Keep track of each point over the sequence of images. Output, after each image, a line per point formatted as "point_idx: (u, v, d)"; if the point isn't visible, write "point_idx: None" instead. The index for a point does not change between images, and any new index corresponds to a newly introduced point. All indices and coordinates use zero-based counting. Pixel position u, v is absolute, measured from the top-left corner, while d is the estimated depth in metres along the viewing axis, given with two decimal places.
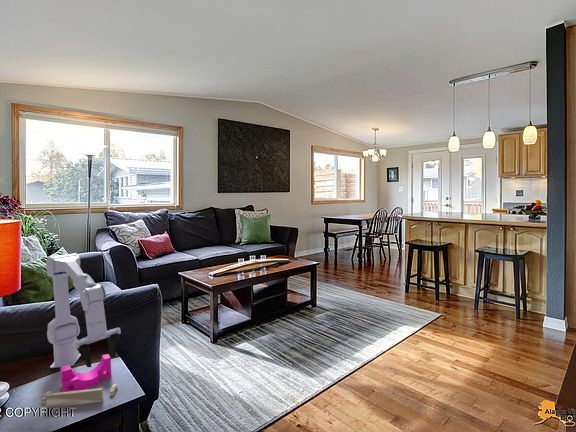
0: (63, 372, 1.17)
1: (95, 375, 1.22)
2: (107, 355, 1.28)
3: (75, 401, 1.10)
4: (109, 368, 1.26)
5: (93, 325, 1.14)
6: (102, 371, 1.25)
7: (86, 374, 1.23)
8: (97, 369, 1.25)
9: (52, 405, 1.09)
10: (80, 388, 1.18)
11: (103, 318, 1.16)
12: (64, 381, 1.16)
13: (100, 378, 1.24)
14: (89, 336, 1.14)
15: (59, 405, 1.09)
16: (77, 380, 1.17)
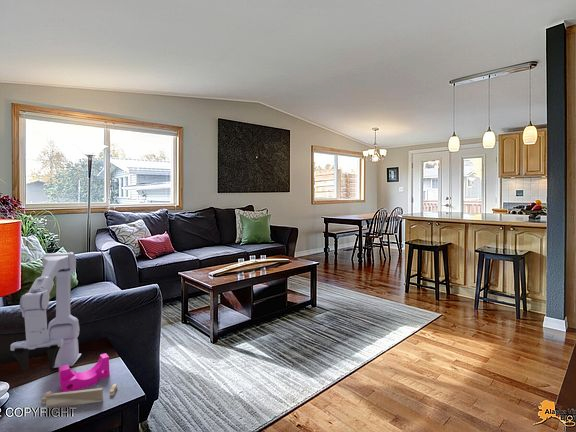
0: (62, 372, 1.17)
1: (93, 374, 1.22)
2: (105, 354, 1.28)
3: (75, 401, 1.10)
4: (107, 367, 1.27)
5: (26, 333, 1.09)
6: (100, 370, 1.25)
7: (84, 373, 1.24)
8: (96, 368, 1.25)
9: (52, 405, 1.09)
10: (79, 387, 1.19)
11: (38, 328, 1.10)
12: (63, 381, 1.16)
13: (98, 377, 1.25)
14: None
15: (59, 405, 1.09)
16: (75, 380, 1.18)
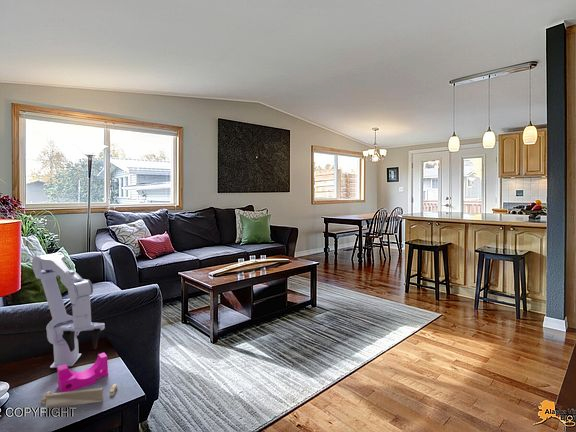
0: (60, 371, 1.17)
1: (92, 374, 1.23)
2: (103, 354, 1.29)
3: (75, 401, 1.10)
4: (106, 366, 1.27)
5: (74, 317, 1.24)
6: (99, 370, 1.26)
7: (83, 373, 1.24)
8: (94, 368, 1.25)
9: (52, 405, 1.09)
10: (78, 387, 1.19)
11: (89, 311, 1.26)
12: (61, 380, 1.17)
13: (97, 376, 1.25)
14: None
15: (59, 405, 1.09)
16: (74, 379, 1.18)
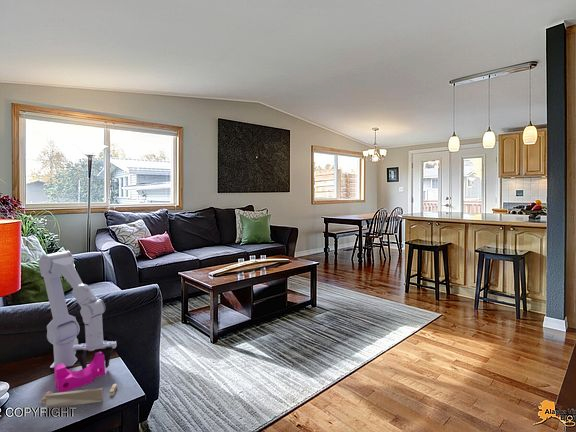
0: (57, 370, 1.18)
1: (89, 372, 1.23)
2: (100, 353, 1.29)
3: (75, 401, 1.10)
4: (103, 365, 1.28)
5: (87, 336, 1.27)
6: (96, 368, 1.26)
7: (80, 372, 1.24)
8: (91, 367, 1.26)
9: (52, 405, 1.09)
10: (75, 385, 1.19)
11: (102, 330, 1.29)
12: (59, 379, 1.17)
13: (94, 375, 1.26)
14: (86, 344, 1.28)
15: (59, 405, 1.09)
16: (71, 378, 1.19)
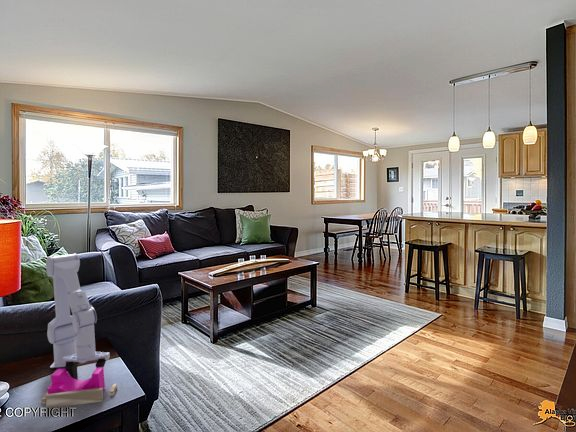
0: (52, 376, 1.13)
1: (80, 388, 1.13)
2: (100, 369, 1.17)
3: (75, 401, 1.10)
4: (97, 384, 1.15)
5: (77, 348, 1.18)
6: (90, 385, 1.15)
7: (78, 383, 1.17)
8: (87, 382, 1.16)
9: (52, 405, 1.09)
10: None
11: (92, 341, 1.20)
12: (50, 386, 1.12)
13: None
14: (76, 355, 1.20)
15: (59, 405, 1.09)
16: (59, 389, 1.12)
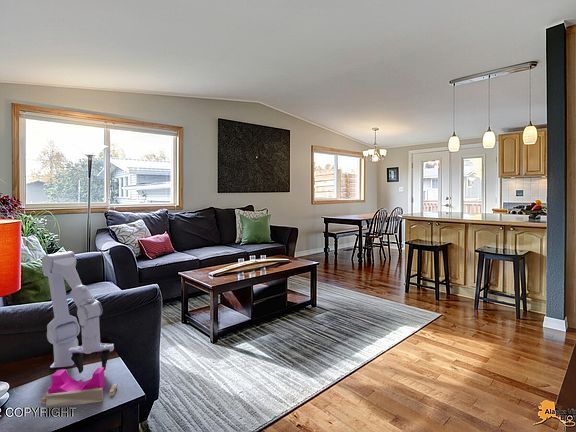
0: (53, 376, 1.14)
1: (80, 388, 1.14)
2: (100, 369, 1.18)
3: (75, 401, 1.10)
4: (98, 384, 1.16)
5: (83, 339, 1.23)
6: (90, 385, 1.16)
7: (79, 384, 1.17)
8: (88, 382, 1.17)
9: (52, 405, 1.09)
10: None
11: (98, 332, 1.26)
12: (51, 386, 1.13)
13: None
14: None
15: (59, 405, 1.09)
16: (60, 389, 1.12)
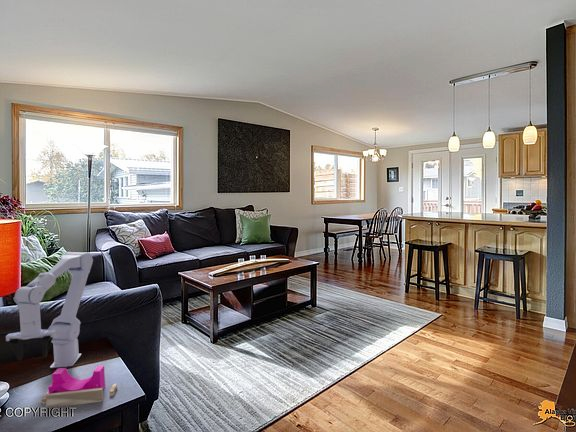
0: (53, 375, 1.15)
1: (81, 386, 1.15)
2: (101, 367, 1.19)
3: (75, 401, 1.10)
4: (98, 382, 1.17)
5: (21, 324, 1.18)
6: (91, 383, 1.17)
7: (79, 382, 1.18)
8: (88, 380, 1.18)
9: (52, 405, 1.09)
10: None
11: (28, 321, 1.18)
12: (51, 385, 1.14)
13: None
14: None
15: (59, 405, 1.09)
16: (61, 387, 1.13)
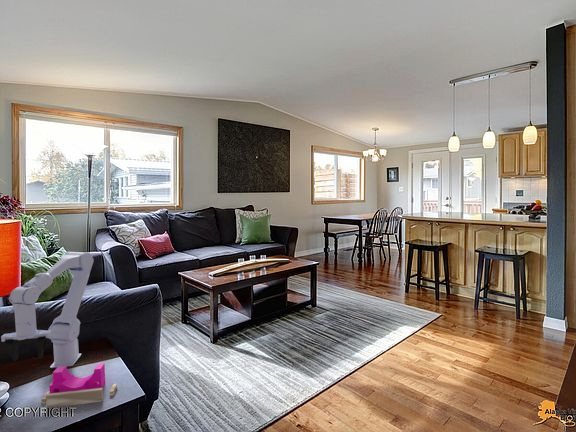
0: (53, 373, 1.16)
1: (82, 384, 1.16)
2: (101, 365, 1.21)
3: (75, 401, 1.10)
4: (99, 380, 1.19)
5: (16, 325, 1.17)
6: (92, 381, 1.18)
7: (79, 380, 1.19)
8: (89, 378, 1.19)
9: (52, 405, 1.09)
10: None
11: (22, 321, 1.17)
12: (52, 383, 1.15)
13: (90, 388, 1.18)
14: None
15: (59, 405, 1.09)
16: (62, 385, 1.14)
